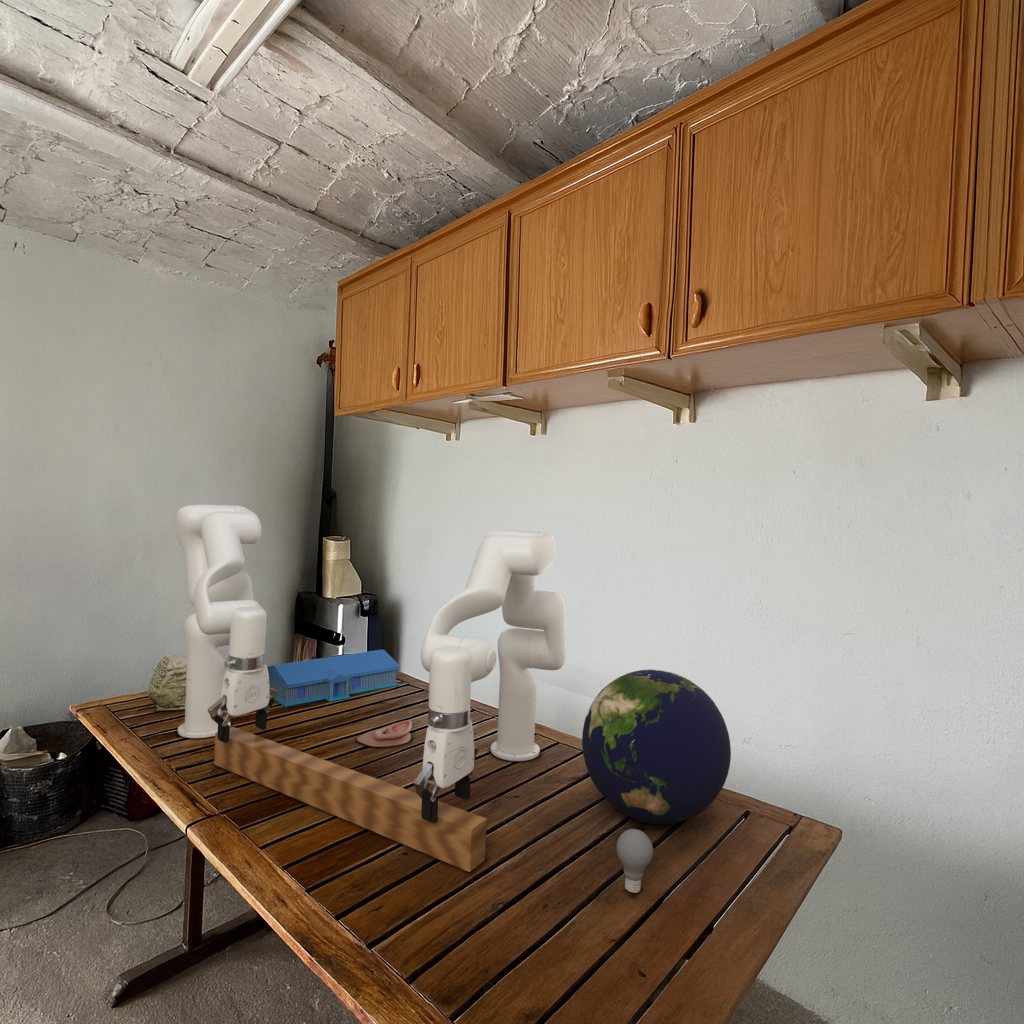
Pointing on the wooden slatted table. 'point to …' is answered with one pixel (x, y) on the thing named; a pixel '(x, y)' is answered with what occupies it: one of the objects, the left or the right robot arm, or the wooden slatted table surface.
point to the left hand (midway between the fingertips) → (242, 734)
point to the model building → (332, 677)
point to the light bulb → (634, 857)
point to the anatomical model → (388, 735)
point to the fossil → (169, 683)
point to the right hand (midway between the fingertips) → (446, 808)
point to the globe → (656, 746)
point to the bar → (356, 798)
